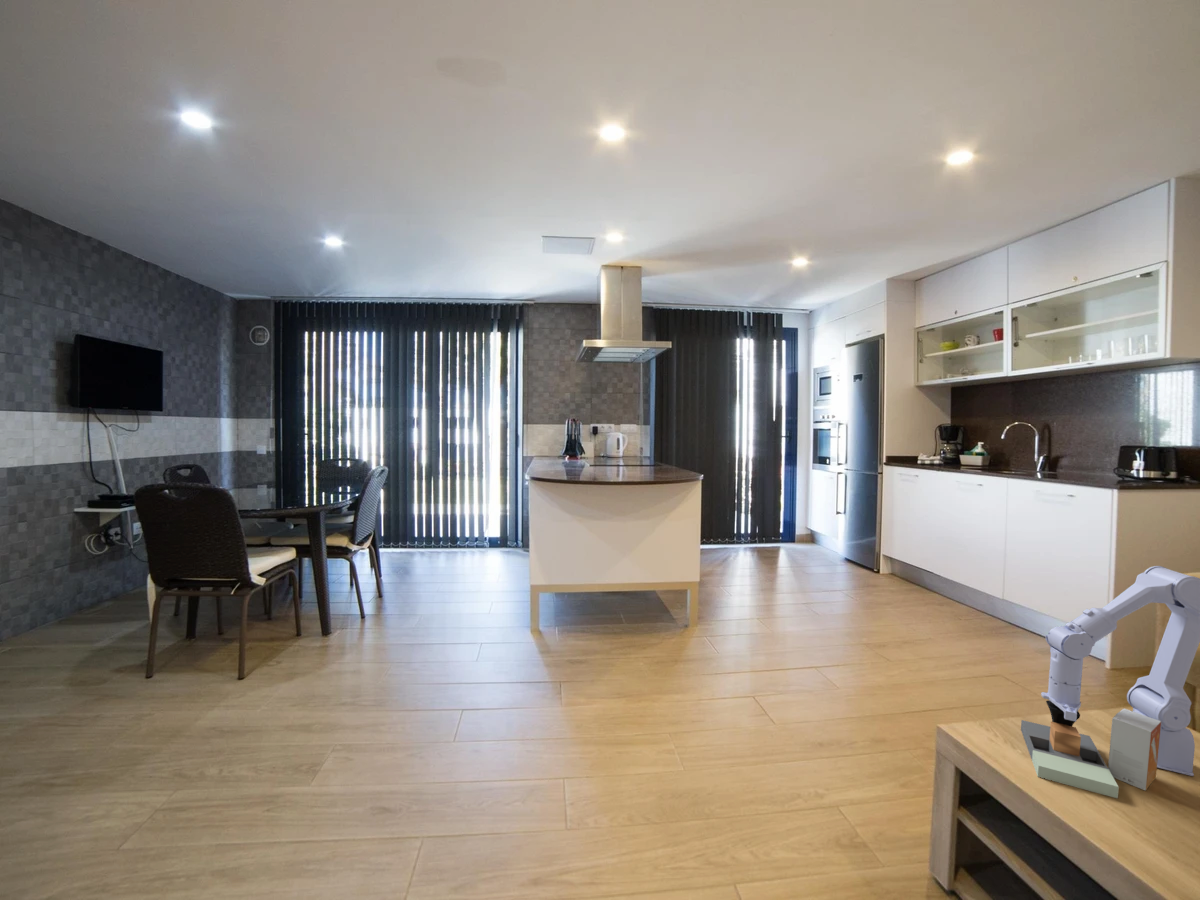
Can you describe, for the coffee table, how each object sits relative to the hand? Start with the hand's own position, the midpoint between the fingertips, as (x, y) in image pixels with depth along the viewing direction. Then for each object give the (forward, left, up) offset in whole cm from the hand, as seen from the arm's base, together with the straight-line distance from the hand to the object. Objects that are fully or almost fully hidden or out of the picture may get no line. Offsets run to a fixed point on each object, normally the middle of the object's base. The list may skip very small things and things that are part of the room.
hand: (1060, 736), depth 128 cm
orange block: (0, +4, -1) cm, 4 cm away
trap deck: (0, +5, -3) cm, 6 cm away
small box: (-12, +4, -4) cm, 13 cm away
